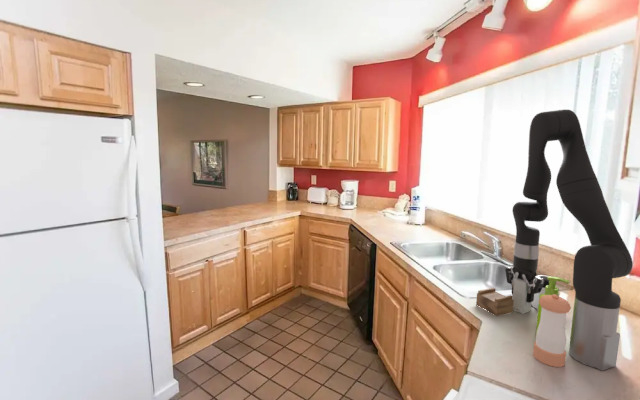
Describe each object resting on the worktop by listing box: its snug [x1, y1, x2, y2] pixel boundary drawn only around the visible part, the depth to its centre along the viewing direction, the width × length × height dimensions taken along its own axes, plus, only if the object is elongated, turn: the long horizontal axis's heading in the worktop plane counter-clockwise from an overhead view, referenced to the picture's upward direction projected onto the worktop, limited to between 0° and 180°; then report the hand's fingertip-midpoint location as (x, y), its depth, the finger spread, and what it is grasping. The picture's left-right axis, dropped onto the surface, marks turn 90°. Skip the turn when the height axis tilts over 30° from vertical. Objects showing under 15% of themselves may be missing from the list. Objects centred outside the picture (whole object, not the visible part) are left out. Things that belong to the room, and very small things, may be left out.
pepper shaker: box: [532, 294, 572, 368], centre depth 85 cm, size 7×7×19 cm
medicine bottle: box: [531, 274, 560, 311], centre depth 116 cm, size 7×7×12 cm
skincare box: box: [512, 278, 532, 315], centre depth 113 cm, size 6×4×12 cm
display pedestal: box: [475, 287, 514, 317], centre depth 115 cm, size 9×8×6 cm
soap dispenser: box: [535, 275, 570, 335], centre depth 95 cm, size 6×7×20 cm
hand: (521, 298), depth 114 cm, fingers closed on skincare box, 5 cm apart
